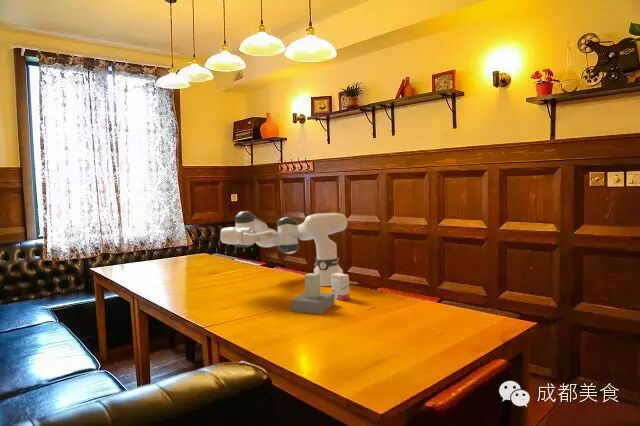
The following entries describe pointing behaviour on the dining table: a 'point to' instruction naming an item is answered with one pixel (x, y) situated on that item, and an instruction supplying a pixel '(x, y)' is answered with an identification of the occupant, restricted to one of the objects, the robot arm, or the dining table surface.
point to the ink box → (340, 286)
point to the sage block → (312, 285)
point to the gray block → (312, 303)
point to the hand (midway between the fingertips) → (273, 236)
